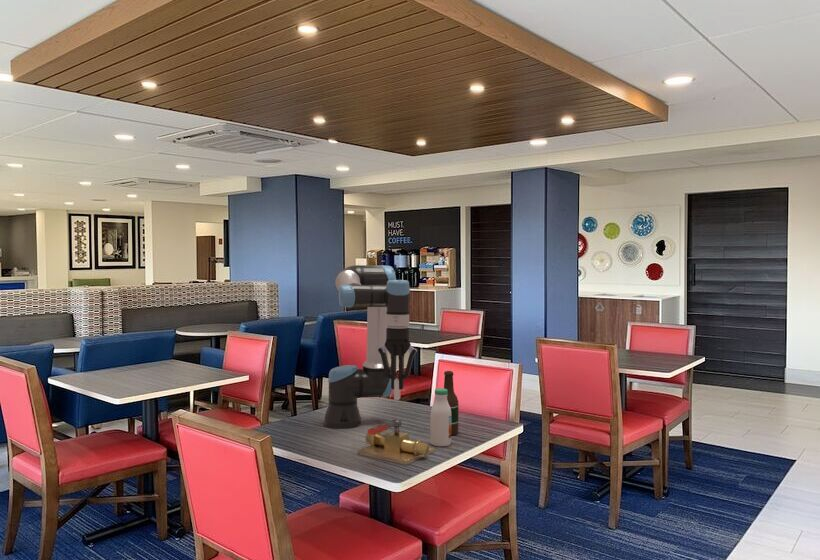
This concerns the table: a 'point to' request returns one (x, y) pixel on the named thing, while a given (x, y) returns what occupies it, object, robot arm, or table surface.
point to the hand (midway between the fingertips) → (397, 399)
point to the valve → (395, 447)
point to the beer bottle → (451, 400)
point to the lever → (384, 427)
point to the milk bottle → (440, 419)
